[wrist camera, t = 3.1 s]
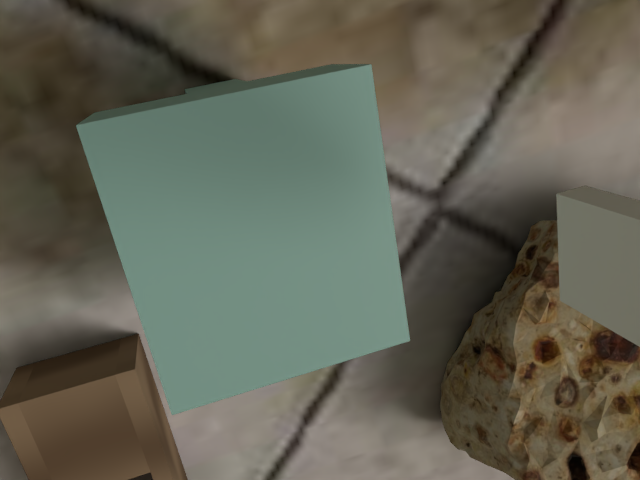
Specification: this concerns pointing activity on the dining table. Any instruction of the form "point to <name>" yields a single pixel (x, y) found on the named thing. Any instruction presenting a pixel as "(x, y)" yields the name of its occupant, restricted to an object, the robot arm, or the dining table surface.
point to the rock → (543, 381)
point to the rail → (90, 417)
